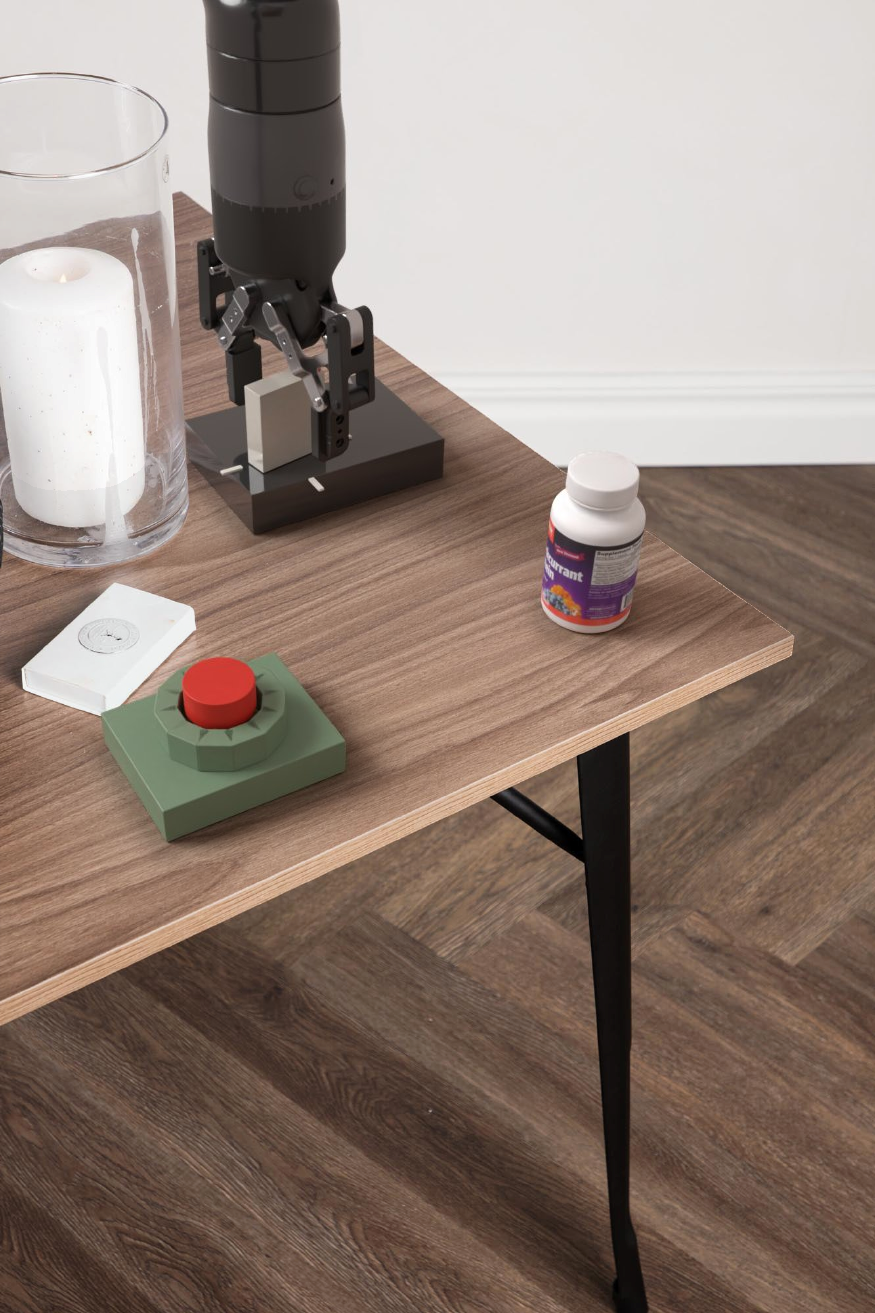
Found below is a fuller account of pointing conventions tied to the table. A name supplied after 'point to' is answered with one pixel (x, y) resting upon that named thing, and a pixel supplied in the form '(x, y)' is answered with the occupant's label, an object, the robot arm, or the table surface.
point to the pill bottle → (594, 544)
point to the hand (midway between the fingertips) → (286, 427)
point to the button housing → (222, 751)
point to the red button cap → (219, 693)
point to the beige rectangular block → (278, 420)
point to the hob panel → (317, 463)
